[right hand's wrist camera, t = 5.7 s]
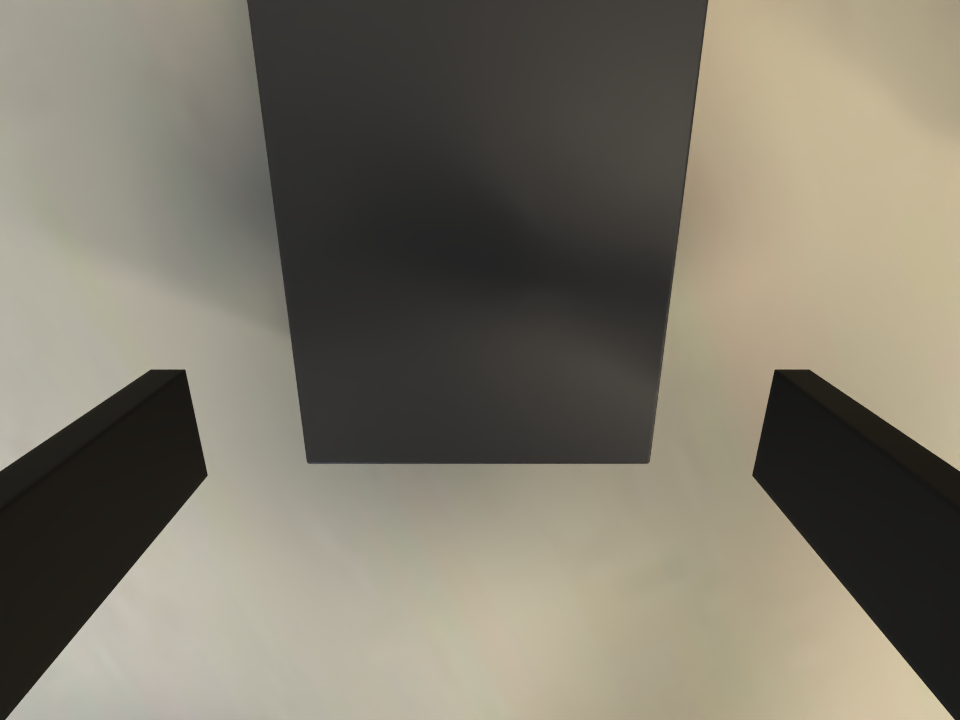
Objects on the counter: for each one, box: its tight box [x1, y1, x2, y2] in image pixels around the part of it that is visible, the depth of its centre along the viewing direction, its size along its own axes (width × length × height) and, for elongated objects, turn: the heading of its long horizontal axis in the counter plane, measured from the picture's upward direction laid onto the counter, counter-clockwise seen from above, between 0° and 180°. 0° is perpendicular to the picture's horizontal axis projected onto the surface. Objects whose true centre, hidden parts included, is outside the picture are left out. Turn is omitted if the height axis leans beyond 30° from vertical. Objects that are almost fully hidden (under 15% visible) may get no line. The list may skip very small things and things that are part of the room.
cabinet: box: [247, 0, 708, 464], centre depth 18 cm, size 19×11×8 cm, turn 0°
